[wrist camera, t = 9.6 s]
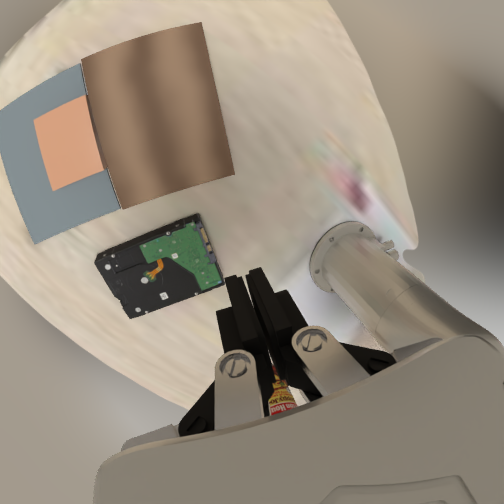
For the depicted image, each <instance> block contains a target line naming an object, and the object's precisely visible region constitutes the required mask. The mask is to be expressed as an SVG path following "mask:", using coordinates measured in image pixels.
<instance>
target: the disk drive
mask: <svg viewBox="0 0 504 504" xmlns="http://www.w3.org/2000/svg"><path fill="white" fill-rule="evenodd" d="M94 263H95V265H96V267H97V269H98V270H99V272H100V274H101V275H102V277H103V278H104V280H105V282H106V284H107V285H108V287H109V288H110V290H111V291H112V293H113V295H114V296H115V297H116V298H117V299H118V300H120V303H121V305H122V306H123V310H124V311H125V313H126V314H127V315H128V317H129V318H130V319H132V318H136V317H139V316H142V315H145V314H146V313H150V312H153V311H155V310H158V309H161V308H163V307H166V306H169V305H172V304H174V303H177V302H180V301H183V300H185V299H188V298H191V297H194V296H196V295H199V294H201V293H205V292H208V291H211V290H212V289H214V288H218V287H220V286H223V285H225V282H224V279H223V276H222V274H221V271H220V269H219V266H218V263H217V261H216V258H215V256H214V253H213V250H212V248H211V245H210V243H209V240H208V237H207V235H206V232H205V229H204V227H203V224H202V221H201V219H200V216H199V214H194V215H192V216H189V217H187V218H183V219H180V220H178V221H175V222H174V223H171V224H168V225H166V226H164V227H161V228H159V229H156V230H154V231H151V232H149V233H146V234H144V235H141V236H139V237H136V238H134V239H132V240H130V241H127V242H125V243H122V244H120V245H118V246H115V247H112V248H110V249H108V250H105V251H104V252H102V253H99V254H98V255H97V257H96V260H95V262H94Z"/></svg>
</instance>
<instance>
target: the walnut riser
mask: <svg viewBox="0 0 504 504" xmlns="http://www.w3.org/2000/svg"><path fill="white" fill-rule="evenodd" d="M81 61H82V66H83V72H84V77H85V82H86V87H87V91H88V96H89V100H90V105H91V109H92V113H93V117H94V121H95V125H96V128H97V132H98V136H99V139H100V143H101V146H102V150H103V153H104V156H105V159H106V163H107V166H108V169H109V172H110V175H111V178H112V181H113V184H114V187H115V190H116V193H117V195H118V198H119V201H120V204H121V206H122V209H126V208H129V207H131V206H134V205H137V204H140V203H143V202H146V201H149V200H152V199H155V198H158V197H161V196H164V195H167V194H170V193H173V192H176V191H179V190H183V189H186V188H189V187H192V186H196V185H199V184H202V183H206V182H209V181H213V180H216V179H220V178H224V177H227V176H231V175H235V172H234V168H233V163H232V158H231V154H230V149H229V145H228V140H227V136H226V131H225V127H224V122H223V118H222V113H221V109H220V104H219V100H218V95H217V91H216V86H215V82H214V77H213V73H212V68H211V64H210V59H209V54H208V50H207V45H206V41H205V36H204V32H203V27H202V23H201V22H200V23H194V24H189V25H184V26H180V27H175V28H171V29H167V30H163V31H159V32H155V33H152V34H148V35H145V36H141V37H138V38H135V39H132V40H129V41H126V42H123V43H120V44H117V45H115V46H112V47H109V48H107V49H104V50H102V51H99V52H97V53H95V54H92V55H90V56H88V57H85V58H83V59H81Z"/></svg>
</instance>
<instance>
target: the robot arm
mask: <svg viewBox="0 0 504 504" xmlns="http://www.w3.org/2000/svg"><path fill="white" fill-rule="evenodd" d="M393 247H394V243H393V241H392V240H389V241H387V242H384V243H383V244H381V243H379V242H378V241H377V240H376V238H375V235H374V233H373V232H372V230H371V229H370V228H368V227H367V226H366V225H364V224H362V223H359V222H346V223H342V224H340V225H338V226H336V227H334V228H333V229H331V230H330V231H329V232H327V233H326V234H325V235H324V236H323V237H322V239H321V240H320V241H319V243H318V244H317V246H316V248H315V250H314V251H313V254H312V257H311V262H310V273H311V277H312V279H313V281H314V282H315V284H316V285H317V286H318V287H319V288H320V289H322V290H324V291H326V292H330V293H337V294H338V295H339V297H340V298H341V299H342V300H343V301H344V302H345V304H346V305H347V306H348V307H349V308H350V309H351V311H352V312H353V313H354V314H355V315H356V317H357V318H358V319H359V320H360V321H361V322H362V324H363V325H364V326H365V327H366V328H367V330H368V331H369V332H370V333H371V334H372V336H373V337H374V338H375V339H376V340H377V342H378V343H379V344H380V345H381V347H382V348H383V349H384V350H386V351H387V352H388V353H387V352H384V351H380V350H375V349H369V348H364V347H359V346H355V345H350V344H345V343H341V342H338V341H337V340H336V339H335V338H334V337H333V336H332V334H331V333H330V332H329V331H327V330H326V329H325V328H323V327H320V326H308V324H307V323H306V321H305V319H304V317H303V316H302V314H301V312H300V311H299V309H298V307H297V306H296V304H295V302H294V301H293V299H292V297H291V295H290V294H289V292H288V291H287V290H283V291H280V292H277V293H274V291H273V289H272V287H271V285H270V283H269V282H268V280H267V278H266V276H265V274H264V272H263V270H262V268H261V267H259V268H256V269H253V270H250V271H249V274H248V275H245V276H246V280H247V284H248V288H249V292H250V295H251V299H252V302H251V300H250V297H249V294H248V292H247V289H246V286H245V284H244V281H243V279H242V276H241V277H238V278H237V276H236V275H233V276H229V277H226V278H224V279H225V283H226V287H227V290H228V294H229V298H230V301H231V305H232V307H228V308H225V309H221V310H218V311H216V315H217V320H218V325H219V330H220V335H221V340H222V345H223V349H224V354H223V355H222V356H221V357H220V358H219V359H218V361H217V362H216V366H215V380H214V382H213V383H212V384H211V385H210V386H209V388H208V389H207V390H206V391H205V392H204V394H203V395H202V396H201V397H200V398H199V400H198V401H197V402H196V403H195V404H194V406H193V407H192V408H191V409H190V410H189V411H188V413H187V414H186V415H185V416H184V417H183V418H182V420H181V421H180V423H179V424H178V425H175V426H173V425H172V424H171V425H168V426H166V427H163V428H160V429H158V430H155V431H152V432H150V433H146V434H144V435H141V436H138V437H134V438H132V439H129V440H128V441H126V442H125V444H123V446H122V449H121V452H119V453H117V454H115V455H113V456H112V457H110V458H109V459H107V460H106V461H104V463H103V464H102V465H101V466H100V468H99V469H98V472H97V475H96V479H95V485H94V497H93V504H504V347H503V346H502V344H501V342H500V341H499V340H498V339H497V338H496V337H495V336H494V335H493V334H491V333H490V332H489V331H488V330H486V329H485V328H483V327H482V326H480V325H478V324H477V323H475V322H474V321H472V320H471V319H469V318H468V317H466V316H465V315H463V314H462V313H461V312H459V311H458V310H456V309H455V308H454V307H452V306H451V305H450V304H449V303H448V302H446V301H445V300H444V299H443V298H441V297H440V296H439V295H438V294H436V293H435V292H434V291H433V290H431V288H429V287H428V286H427V285H426V284H424V283H423V282H422V281H421V280H420V279H418V278H417V277H416V276H415V275H413V274H412V273H411V272H410V271H409V270H407V269H406V268H405V267H404V266H402V265H401V264H400V263H398V262H397V261H396V260H397V259H398V258H399V255H398V252H397V251H396V250H395V249H393V250H391V251H388V252H385V250H389V249H391V248H393ZM252 303H253V305H252ZM253 307H254V308H253ZM268 351H269V352H268ZM269 353H270V356H271V358H272V361H273V364H274V366H275V369H276V371H277V374H278V376H279V379H280V381H282V380H285V381H286V383H287V386H289V385H290V386H291V387H294V388H297V389H299V391H300V393H301V395H302V396H303V398H304V399H305V401H306V402H307V403H306V404H304V405H301V406H298V407H295V408H292V409H290V410H287V411H284V412H281V413H277V414H274V415H271V410H270V404H269V399H270V398H271V396H272V395H273V393H274V392H275V391H274V387H273V383H276V378H275V375H274V371H273V367H272V363H271V359H270V356H269Z"/></svg>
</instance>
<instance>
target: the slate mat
mask: <svg viewBox="0 0 504 504" xmlns="http://www.w3.org/2000/svg"><path fill="white" fill-rule="evenodd" d="M83 95H87V94H86V89H85V84H84V80H83V74H82V69H81V64H77V65H75V66H73V67H71V68H69V69H67V70H65V71H63V72H61V73H59V74H57V75H56V76H54V77H52V78H50V79H48V80H46V81H45V82H43V83H41V84H40V85H38V86H36V87H34V88H33V89H31V90H30V91H28V92H26V93H25V94H23V95H22V96H20V97H19V98H17V99H16V100H14V101H13V102H11V103H10V104H9V105H7V106H6V107H4V108H3V109H2V110H0V153H1V157H2V160H3V164H4V167H5V171H6V174H7V177H8V180H9V183H10V186H11V189H12V192H13V194H14V197H15V200H16V202H17V205H18V207H19V210H20V212H21V215H22V217H23V220H24V222H25V224H26V227H27V229H28V231H29V233H30V235H31V238H32V240H33V242H34V244H37V243H39V242H41V241H43V240H46V239H48V238H50V237H52V236H54V235H57V234H59V233H61V232H64V231H66V230H68V229H71V228H73V227H75V226H78V225H80V224H83V223H85V222H87V221H90V220H92V219H95V218H98V217H100V216H103V215H105V214H108V213H110V212H113V211H116V210H118V209H120V205H119V202H118V200H117V197H116V194H115V191H114V188H113V185H112V183H111V180H110V177H109V174H108V171H107V168H106V169H105V170H103V171H101V172H98V173H95V174H93V175H90V176H88V177H85V178H83V179H80V180H78V181H76V182H73V183H71V184H68V185H66V186H64V187H62V188H59V189H57V190H55V191H53V190H52V187H51V184H50V181H49V178H48V175H47V172H46V168H45V165H44V161H43V158H42V154H41V150H40V147H39V143H38V139H37V134H36V130H35V125H34V121H33V120H34V119H36V118H38V117H40V116H42V115H44V114H46V113H47V112H49V111H51V110H53V109H55V108H57V107H59V106H61V105H63V104H66V103H68V102H70V101H72V100H74V99H76V98H79V97H81V96H83Z"/></svg>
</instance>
